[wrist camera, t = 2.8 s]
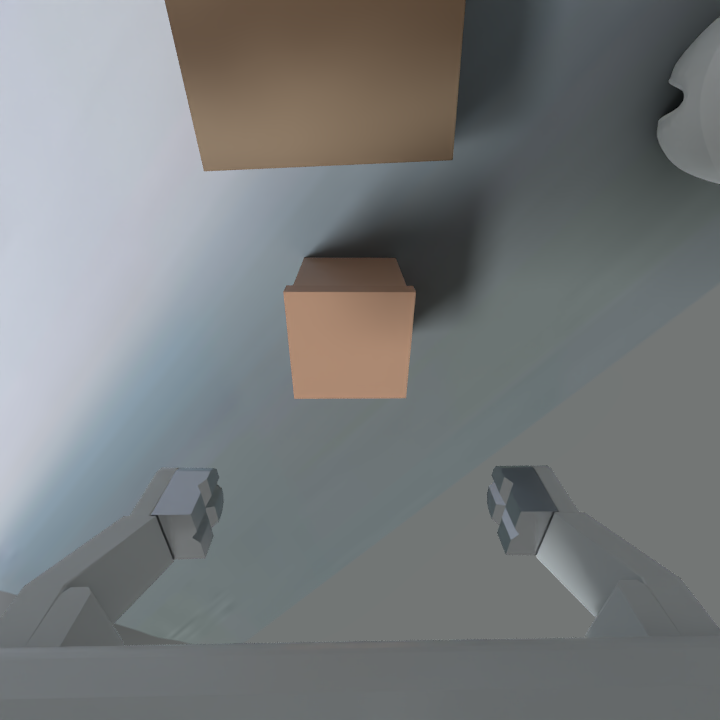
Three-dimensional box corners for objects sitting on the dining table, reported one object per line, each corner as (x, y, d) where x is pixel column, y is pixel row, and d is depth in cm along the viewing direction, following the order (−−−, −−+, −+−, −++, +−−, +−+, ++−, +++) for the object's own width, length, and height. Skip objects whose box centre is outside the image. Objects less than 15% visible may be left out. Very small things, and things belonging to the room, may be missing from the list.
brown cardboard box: (300, 253, 20) (283, 292, 15) (399, 254, 21) (415, 292, 15) (307, 341, 23) (294, 398, 18) (393, 341, 24) (405, 398, 18)
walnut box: (197, -109, 14) (103, -262, 8) (436, -120, 14) (488, -279, 8) (245, 163, 18) (204, 171, 13) (423, 155, 18) (452, 160, 13)
